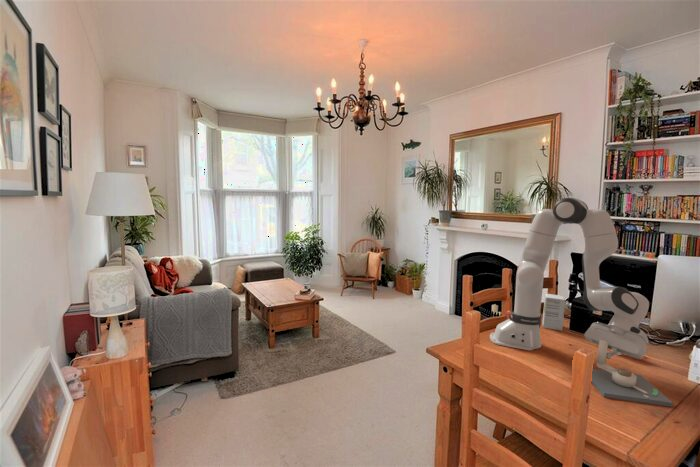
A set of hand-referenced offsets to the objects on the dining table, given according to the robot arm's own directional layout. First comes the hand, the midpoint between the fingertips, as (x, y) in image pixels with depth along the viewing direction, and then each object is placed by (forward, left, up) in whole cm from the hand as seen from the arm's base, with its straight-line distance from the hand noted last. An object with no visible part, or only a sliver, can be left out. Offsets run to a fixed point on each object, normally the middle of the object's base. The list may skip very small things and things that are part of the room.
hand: (604, 357), depth 140 cm
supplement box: (-3, +55, -7) cm, 55 cm away
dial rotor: (+2, -8, -5) cm, 10 cm away
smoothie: (+15, +25, -7) cm, 30 cm away
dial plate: (+3, -9, -7) cm, 12 cm away
